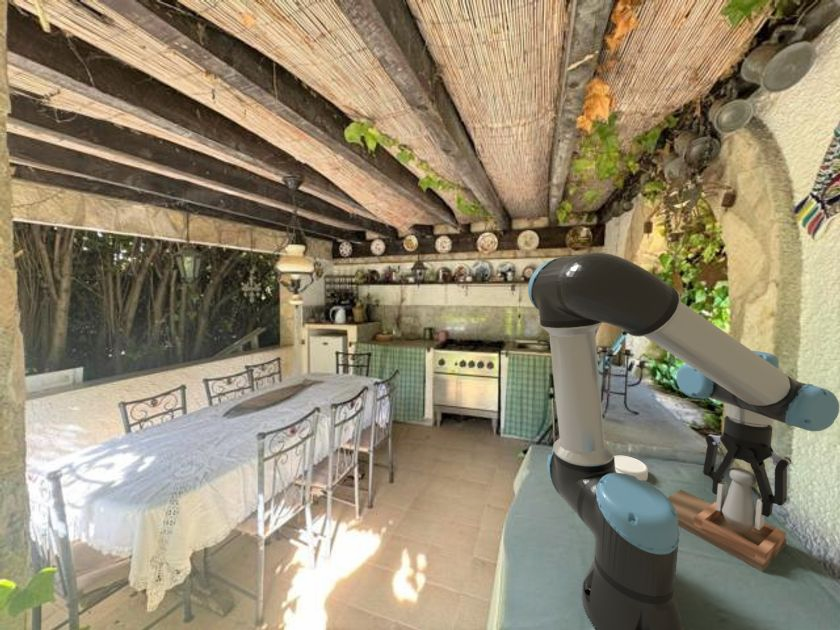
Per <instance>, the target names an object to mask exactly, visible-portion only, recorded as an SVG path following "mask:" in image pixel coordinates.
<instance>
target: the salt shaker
mask: <svg viewBox="0 0 840 630" xmlns="http://www.w3.org/2000/svg"><path fill="white" fill-rule="evenodd" d="M728 477H729V478H730V479H731V481H730V482H731V483H730V485H729V488H728V490H727V492H726V498H725V501H724V504H723V507H722V513H723V515H724V518H725V520H726V521H727V522H728V523H729V524H730V526H732V527H734V528H737V529H739V530H741V531H751V530H752V529H753V528H754V526H755V516H756V506H755V505H756V504H755V501H754V496H753V495H754V493H753V489H752V486H755V484H756V483H757V481H756V478H755V474H754V472H751V471H750V470H748V469H744V468H741V467H736V466H735V467H732V468H731V467H730V468H729V472H728Z"/></svg>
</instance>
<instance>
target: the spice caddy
mask: <svg viewBox="0 0 840 630" xmlns="http://www.w3.org/2000/svg"><path fill="white" fill-rule="evenodd" d="M667 498H668V499H669V500H670V501H671V503H672V504H673V506H674V508H675V510H676V512H677V516H678V527H679V528H683V529H684V530H686V531H688V532H689V533H691V534H693V535H695V536H697V537H699V538H700V539H702V540H703V541H706V542H707V543H709V544H711V545H713V546H715V547H717V549H718V548H719V549H720V550H722V551H724V552H726V553H728V554H729V555H732V556H733V557H735V558H736V559H738V560H740V561H742V562H744V563H746V564H748V565H750V566H751V567H752V568H755V569H756V570H758V571H760V572H762V573H763V572H764V571H765V570H766V568H767V567H768V566H769V565H770V564H771V563H772V562H773V561H774V559H775V558H776V557H777V556H778V555H779V554H780V552H781V551H782V550H783V549H784V548H785V547H786V546H785V545H787V538H786V535H787V532H786V531H784V530H782V529H780V528H777V527H775V526H773V525H771V524H768V523H766V522H764V526H763V527H762V528H761V529H760V530H758V529H756V528H753V529H752V530H751V531H741V530H739V529H737V528H734V527H732V526H730V524H729V523H728V522H727V521H726V520H725V518H724V515H723V513H722V510H721V511H718V510H716V502H717V500H716V501H714V502H713V503H711V502H708V501H706V500H704V499H702V498H700V497H698V496H696V495H693V494H691V493H689V492H687V491H685V490H684V489H683V490H682V489H680V490H678V491H676V492H675V493H673V494H671V495H670V496H667ZM784 546H785V547H784ZM783 547H784V548H783ZM782 548H783V549H782ZM778 553H779V554H778Z"/></svg>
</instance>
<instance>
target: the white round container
mask: <svg viewBox="0 0 840 630" xmlns="http://www.w3.org/2000/svg"><path fill="white" fill-rule="evenodd" d="M614 460H615V470H616V472H617V473H623V474H628V475H632V476H635V477H636V478H637V479H638V480H644V481H646V482H647V481H648V478H649V477H648V475H649V468H648V466H647V465H646V464H645V463H644V462H642V461H641V460H639V459H637V458H634V457H632V456H627V455H614Z"/></svg>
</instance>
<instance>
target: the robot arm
mask: <svg viewBox="0 0 840 630" xmlns="http://www.w3.org/2000/svg"><path fill="white" fill-rule="evenodd" d="M527 287H528V288H527V292H528V293H527V294H528V298H529V300H530V302H531V304H532V305H533V306H534V308H536V309H537V310H538V314H539V324H540V328H542V329H543V330H544V331H546V332H547V333H548V335H549V345H550V355H551V366H552V374H553V377H552V378H553V385H554V395H555V404H556V405H555V406H556V414H557V424H558V435H559V438H558V439H557V440H555V441H554V443H553V445H552V449H551V454H548V457H547V462H546V471H547V476H548V478H549V481H550V482H551V484H552V486H553V487H554V489H555V491H556V493H558V494H559V495H560V497H561V498H562V499H563V500H564V501H565V503H566V504H567V505H568V506H569V507H570V508H571V509H572V510H573V511H574V513H575V514H576V515H577V516H578V518H580V520H581V521H582V522H583V523H584V525H586V527H587V528H588V529H589V531H590V532H591V533H592V534H593V536H594V557H593V558H594V560H593V561H592V563H591V566H590V567H589V569H588V571H587V573H586V574H585V577H584V579H583V582H582V587H581V589H582V590H581V603H582V602H583V603H582V606H584V607H583V610H584V609H585V610H584V612H585V611H586V613H585V615H586V614H587V615H586V617H587V616H588V617H587V619H588V618H589V619H590V620H589V619H588V620H589V622H590V621H591V622H592V623H591V622H590V623H591V625H592V624H593V625H592V626H593V627H594V626H595V628H596V629H597V630H685V626H684V622H683V619H682V616H681V613H680V609H679V606H678V603H677V599H676V597H675V584H676V583H675V582H676V575H677V574H676V572H677V564H678V563H677V561H678V553H679V552H678V551H679V543H680V535H681V534H680V529H679V528H680V527H679V525H678V516H677V512H676V510H675V508H674V506H673V504H672V503H671V501H670V500H669V499H668V496H667V495H666V494H665V493H663V492H662V491H661V490H660V489H659V488H658V487H656V486H655V485H653V484H652V483H650V482H649V481H647V480H646V481H644V480H638V479H637V478H636V477H635V476H632V475H628V474H623V473H617V472H616V470H615V460H614V456H615V452H614V449H613V447H612V446H611V445H609V444H608V443H607V442H606V440H605V432H604V422H603V421H604V418H603V409H602V407H603V405H602V396H601V387H600V386H601V385H600V384H601V383H600V375H599V374H600V373H599V372H600V371H599V363H598V349H597V339H596V331H597V330H598V329H599V327H600V326H601V325H602V324H603V323H605V324H608V325H611V326H614V327H616V328H618V329H620V330H622V331H623V332H625V333H627V334H628V335H631V336H633V337H639V338H641V337H643V338H644V337H645V338H646V339H648V340H649V341H651V342H652V343H653V344H655V345H656V346H658V347H660V348H662V349H663V350H665V351H666V352H667V353H669V354H671V355H672V356H673V357H675V358H677V359H679V360H680V361H681V362H682V363H684V364H682V365H681V366H679V368H678V369H677V372H676V384H677V386H678V388H679V389H680V391H681V392H682V393H683V394H684V395H686V396H688V397H690V398H695V399H702V400H704V399H712V400H716V401H719V402H722V403H725V409H724V414H725V415H726V416H725V417H724V421H723V433H722V434H721V435H715V434H714V433H710V434H708V435H706V436H705V441H706V445H707V446H706V453H705V457H704V458H705V459H704V464H703V471H702V473H703V474H704V475H705V476H706V477H707V476H708V477H709V478H710V479H711V481H712V485H711V486H712V487H711V492H712V494H714V495H716V501H717V502H716V501H715V502H716V510H718V511H721V510H722V507H723V504H724V501H725V498H726V496H727V487H728V482H727V481H726V480H723V479H725V476H726V475H727V473H728V471H730V469H731V467H732V464H733V463H734V461H735V460H739V461H743V462H745V463H747V464H749V465H750V466H751V467H750V468H751V469H752V471H753V474H754V475H755V478H756V483H757V486H758V490H759V493H760V497H759V498H757V499H756V506H755V510H756V516H755V526H754V528H756V529H758V530H760V529H761V528H762V527H763V526H764V523H765V517H766V518H770V516H771V515H772V514H773V507H774V506H773V505H777V506H783V505H784V504H785V503H786V502H787V500H788V499H787V498H788V493H787V489H788V468H789V466H791V463H792V460H791V458H790V457H786V456H782V455H779V454H777V453H776V452H775V451H774V450H773V447H772V440H773V439H772V438H773V436H772V435H773V427H772V425H773V424H774V421H777V422H780V423H783V424H786V426H789V427H795V428H798V429H802V430H804V431H805V430H806V431H809V432H821V431H824V430H826V429H827V430H828V428H830V427H831V426H832V425H833V424H834V423H835V421H836V419H837V418H838V416H839V413H840V404H839V403H840V402H839V400H838V397H837V396H836V395H835V393H833V391H830V390H828V389H827V388H823V387H819V386H816V385H814V384H812V383H804V382H801V381H798V380H796V379H794V378H792V377H791V376H789V375H788V374H786V373H785V372H783V371H782V370H781V369H779V358H778V356H777V355H774V354H773V353H769V352H765V351H758V350H751V349H750V348H748V347H747V346H746V345H744V344H743V343H741V342H740V341H738V340H737V339H735V337H733V336H731V335H730V334H728V333H727V332H725V331H724V330H722V329H721V328H720V327H718V326H717V325H716V324H714V323H712V322H711V321H709V320H708V319H706V318H705V317H704V316H702V315H701V314H700V313H698V312H697V311H695V310H694V309H693V308H691V307H689V305H686V304H685V303H684V302H682V301H681V294H680V293H679V291H678V290H677V289H675V288H674V287H673V286H671V285H670V284H668V283H667V282H666V281H664V280H663V279H662V278H660V277H658V276H657V275H655V274H653V273H652V272H650V271H648V270H646V269H645V268H643V267H641V266H639V265H638V264H636V263H634V262H632V261H630V260H627V259H626V258H623V257H620V256H618V255H614V254H612V253H611V254H610V253H606V252H589V253H583V254H578V255H572V256H571V255H570V256H564V257H563V256H561V257H557V258H553V259H550V260H548V261H546V262H544V263H542V264H540V265H539V266H538V267H537V268H536V269H535V270H534V272H533V273H532V275H531V276H530V279H529V281H528V286H527ZM721 443H722V445H723V446H724V447H725V449H726V450H727V452H726V453H725V456H724V458H723V460H722V461H721V462H720V465H719V466H718V468H717V469H716V471H715V466H716V461H717V455H718V451H719V445H721ZM769 458H771V460H772V464H773V465H774V466H775V467H774V491H773V489H772V486H771V484H770V480H769V478H768V475H767V474H768V473H767V470H766V464H765V462H764V461H765V460H767V459H769ZM773 492H774V493H773ZM595 628H594V629H595ZM596 629H595V630H596Z"/></svg>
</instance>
